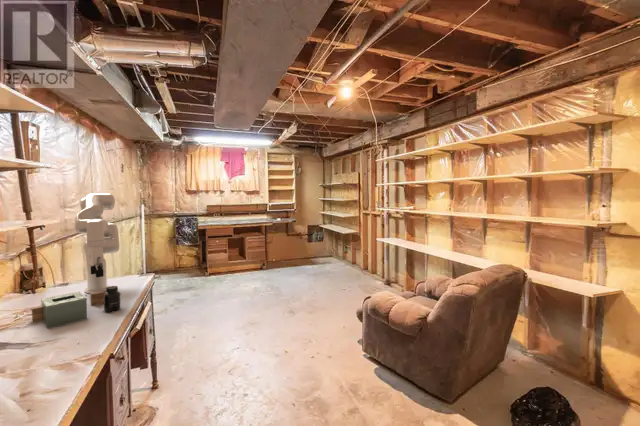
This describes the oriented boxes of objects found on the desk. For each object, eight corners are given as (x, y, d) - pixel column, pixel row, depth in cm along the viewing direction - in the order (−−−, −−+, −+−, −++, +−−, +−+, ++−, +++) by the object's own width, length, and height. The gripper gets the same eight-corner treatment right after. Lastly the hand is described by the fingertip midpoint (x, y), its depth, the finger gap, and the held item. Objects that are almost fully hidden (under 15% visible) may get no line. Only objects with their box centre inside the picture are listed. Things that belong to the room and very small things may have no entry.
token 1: (32, 320, 139) (31, 307, 139) (49, 316, 144) (48, 303, 144) (33, 321, 137) (32, 309, 137) (50, 317, 142) (49, 305, 142)
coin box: (42, 319, 139) (41, 298, 139) (79, 311, 150) (79, 291, 149) (47, 328, 130) (46, 306, 130) (87, 318, 141) (86, 298, 140)
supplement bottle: (112, 313, 147) (111, 289, 147) (100, 312, 149) (99, 288, 148) (123, 308, 154) (123, 285, 153) (112, 307, 155) (112, 284, 155)
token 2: (90, 304, 159) (90, 293, 159) (104, 301, 164) (103, 290, 164) (92, 305, 158) (91, 294, 157) (105, 302, 162) (105, 291, 162)
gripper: (82, 242, 161) (84, 274, 162) (91, 246, 150) (92, 279, 151) (99, 241, 167) (100, 271, 168) (109, 244, 156) (110, 276, 157)
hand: (97, 275), depth 160 cm, fingers open, 9 cm apart
